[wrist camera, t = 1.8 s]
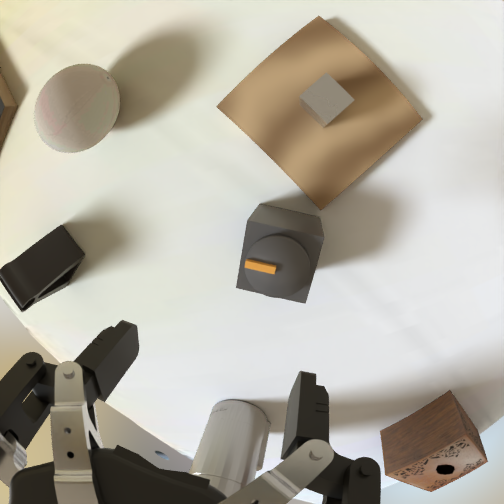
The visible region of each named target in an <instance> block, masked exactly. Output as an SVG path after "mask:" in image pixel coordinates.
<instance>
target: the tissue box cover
mask: <svg viewBox="0 0 504 504" xmlns="http://www.w3.org/2000/svg"><path fill="white" fill-rule="evenodd" d="M380 434H381V441H382V450H383V458H384V468H385V475H386V476H389V477H391V478H394V479H396V480H399V481H402V482H404V483H407V484H410V485H413V486H416V487H418V488H421V489H424V490H427V491H430V492H432V491H434V490H436V489H439V488H440V487H443V486H445V485H447V484H449V483H451V482H453V481H455V480H457V479H459V478H461V477H462V476H464V475H466V474H468V473H470V472H471V471H473V470H475V469H477V468H478V467H480V466H481V465H483V464H485V463H486V462H488V461H487V457H486V454H485V451H484V448H483V445H482V442H481V439H480V436H479V433H478V430H477V429H476V427H475V426H474V424H473V423H472V421H471V420H470V418H469V417H468V415H467V414H466V412H465V411H464V409H463V408H462V407H461V405H460V404H459V402H458V401H457V399H456V398H455V397H454V395H453V394H452V392H451V391H450V390H449V391H448V392H446V393H445V394H444V395H442V396H441V397H439V398H437V399H436V400H434V401H433V402H431V403H430V404H428V405H426V406H425V407H423V408H422V409H420V410H418V411H416V412H415V413H413V414H411V415H410V416H408V417H406V418H404V419H402V420H400V421H399V422H397V423H395V424H393V425H391V426H389V427H387V428H385V429H383V430H381V431H380Z"/></svg>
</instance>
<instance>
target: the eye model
mask: <svg viewBox="0 0 504 504" xmlns="http://www.w3.org/2000/svg"><path fill="white" fill-rule="evenodd" d="M119 109H120V93H119V89H118V86H117V83H116V82H115V80H114V78H113V77H112V76H111V75H110V74H109V73H108V72H107V71H106V70H104V69H103V68H101V67H98V66H95V65H91V64H77V65H73V66H69V67H67V68H65V69H63V70H61V71H59V72H58V73H56V74H55V75H54V76H53V77H52V78H50V79H49V81H48V82H47V83H46V84H45V85H44V87H43V88H42V90H41V92H40V94H39V96H38V98H37V101H36V104H35V110H34V122H35V127H36V130H37V132H38V134H39V136H40V138H41V139H42V141H43V142H44V143H45V144H46V145H48V146H49V147H50V148H52V149H54V150H56V151H60V152H64V153H75V152H80V151H84V150H86V149H89V148H91V147H93V146H94V145H96V144H97V143H99V142H100V141H101V140H102V139H103V138H104V137H105V136H106V135H107V134H108V133H109V131H110V130H111V129H112V127H113V125H114V123H115V121H116V119H117V116H118V113H119Z"/></svg>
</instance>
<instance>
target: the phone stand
mask: <svg viewBox="0 0 504 504" xmlns="http://www.w3.org/2000/svg"><path fill="white" fill-rule="evenodd" d="M84 256H85V254H84V253H83V252H82V250H81V249H80V248H79V247H78V245H77V244H76V243H75V241H74V240H73V239H72V238H71V236H70V235H69V234H68V232H67V231H66V230H65V228H64V227H63V226H62V225H60V226H59V227H57V228H56V229H54V230H53V231H52V232H50V233H49V234H47V235H46V236H45V237H43V238H42V239H40V240H39V241H38V242H36V243H35V244H34V245H32V246H31V247H30V248H29V249H27V250H26V251H25V252H23V253H22V254H21V255H20V256H18V257H17V258H16V259H14V260H13V261H11V262H9V263H7V264H5V265H4V266H3V267H2V268H1V269H0V281H1V283H2V284H3V286H4V287H5V289H6V290H7V292H8V293H9V295H10V296H11V298H12V299H13V301H14V302H15V303H16V305H17V306H18V308H19V309H20V310H21V312H24V311H26V310H27V309H28V308H29V307H31V306H32V305H33V304H35V303H37V302H38V301H40V300H42V299H44V298H46V297H48V296H50V295H52V294H53V293H55V292H57V291H59V290H61V289H63V288H65V287H66V286H67V285H68V283H69V282H70V280H71V278H72V276H73V274H74V273H75V271H76V269H77V268H78V266H79V264H80V262H81V261H82V259H83V257H84Z"/></svg>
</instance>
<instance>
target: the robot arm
mask: <svg viewBox="0 0 504 504" xmlns="http://www.w3.org/2000/svg"><path fill="white" fill-rule="evenodd" d="M138 352H139V341H138V330H137V326H136V325H135V324H132V323H129V322H127V321H124V320H122V321H120V322H119V323H118V324H117V325H116V326H115V327H112V326H110V327H109V328H107V329H105V330H103V331H102V332H101V333H100V334H99V335H98V336H97V338H95V339H94V340H93V341H92V343H90V344H89V345H88V346H87V348H86V349H85V350H84V351H83V352H82V353H81V354H80V355H79V356H78V357H77V358H76V359H75V360H74V361H73V362H72V361H66V362H63V363H61V364H59V365H53V364H49V363H45V362H44V361H43V358H42V357H41V355H39V354H38V353H35V352H29V353H26V354H25V355H23V356H22V357H21V358H20V359H19V360H18V362H17V363H16V364H15V365H14V366H13V367H12V368H11V369H10V370H9V371H8V373H7V374H6V375H5V376H4V377H3V378H2V379H1V381H0V480H1V481H2V482H3V483H5V484H6V485H7V486H8V487H9V494H10V496H9V504H286V503H288V502H289V501H290V500H291V499H292V498H294V497H295V496H296V495H297V494H298V493H299V492H300V491H301V490H303V489H304V488H307V489H309V490H312V491H314V492H317V493H320V494H322V495H323V502H322V504H380V493H381V491H380V490H381V473H380V467H379V465H378V463H377V462H376V461H375V460H373V459H371V458H368V457H361V458H358V459H356V460H355V461H354V460H351V459H349V458H346V457H343V456H341V455H339V454H337V453H336V452H335V451H334V450H333V449H332V447H331V446H330V443H329V414H328V413H329V406H328V405H329V395H328V393H327V391H326V389H325V387H324V386H319V385H316V374H314V373H309V372H303V371H300V372H299V374H298V376H297V378H296V381H295V383H294V385H293V388H292V390H291V393H290V396H289V401H288V408H287V416H286V424H285V432H284V439H283V446H282V453H281V459H283V460H284V461H283V462H281V463H280V464H279V465H277V466H276V467H275V468H274V469H272V470H270V471H267V472H265V473H264V474H262V475H261V476H259V477H258V478H256V479H255V475H256V471H259V470H261V469H262V467H263V462H264V457H265V452H266V446H267V441H268V435H269V430H270V424H271V423H270V422H268V421H267V419H266V416H265V414H264V412H263V411H262V410H260V409H259V408H258V407H256V406H254V405H252V404H249V403H246V402H242V401H237V400H226V401H221V402H218V403H217V404H215V406H214V407H213V409H212V412H211V414H210V417H209V420H208V423H207V425H206V428H205V431H204V433H203V436H202V439H201V441H200V444H199V447H198V449H197V452H196V455H195V457H194V460H193V463H192V465H191V468H190V471H189V473H186V472H178V471H170V470H163V469H159V468H157V467H156V466H154V465H153V464H151V463H150V462H148V461H147V460H146V459H144V458H143V457H141V456H140V455H139V454H136V453H134V452H132V451H130V450H127V449H125V448H123V447H121V446H119V445H117V446H116V448H115V449H110V448H104V447H103V443H102V441H101V438H100V434H99V428H98V422H97V416H96V409H95V404H94V402H95V401H96V400H97V398H98V399H100V400H102V401H104V402H105V401H106V399H107V398H108V397H109V395H110V394H111V392H112V391H113V390H114V388H115V387H116V385H117V384H118V382H119V381H120V380H121V378H122V377H123V375H124V374H125V373H126V371H127V370H128V369H129V367H130V366H131V364H132V363H133V362H134V360H135V359H136V357H137V355H138ZM31 390H32V392H31ZM30 392H31V393H30ZM29 393H30V394H29ZM28 394H29V396H28V397H27V395H28ZM26 397H27V398H26ZM25 398H26V399H25ZM24 399H25V401H24ZM23 401H24V402H23ZM49 414H50V415H51V436H52V448H53V457H54V461H53V462H49V463H45V464H41V465H37V466H33V467H28V468H24V467H25V466H26V465H27V461H26V458H27V455H26V451H25V450H26V448H27V447H28V445H29V444H30V442H31V441H32V439H33V437H34V436H35V434H36V433H37V431H38V430H39V428H40V427H41V425H42V424H43V422H44V421H45V419H46V418H47V416H48V415H49ZM254 479H255V480H254Z"/></svg>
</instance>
